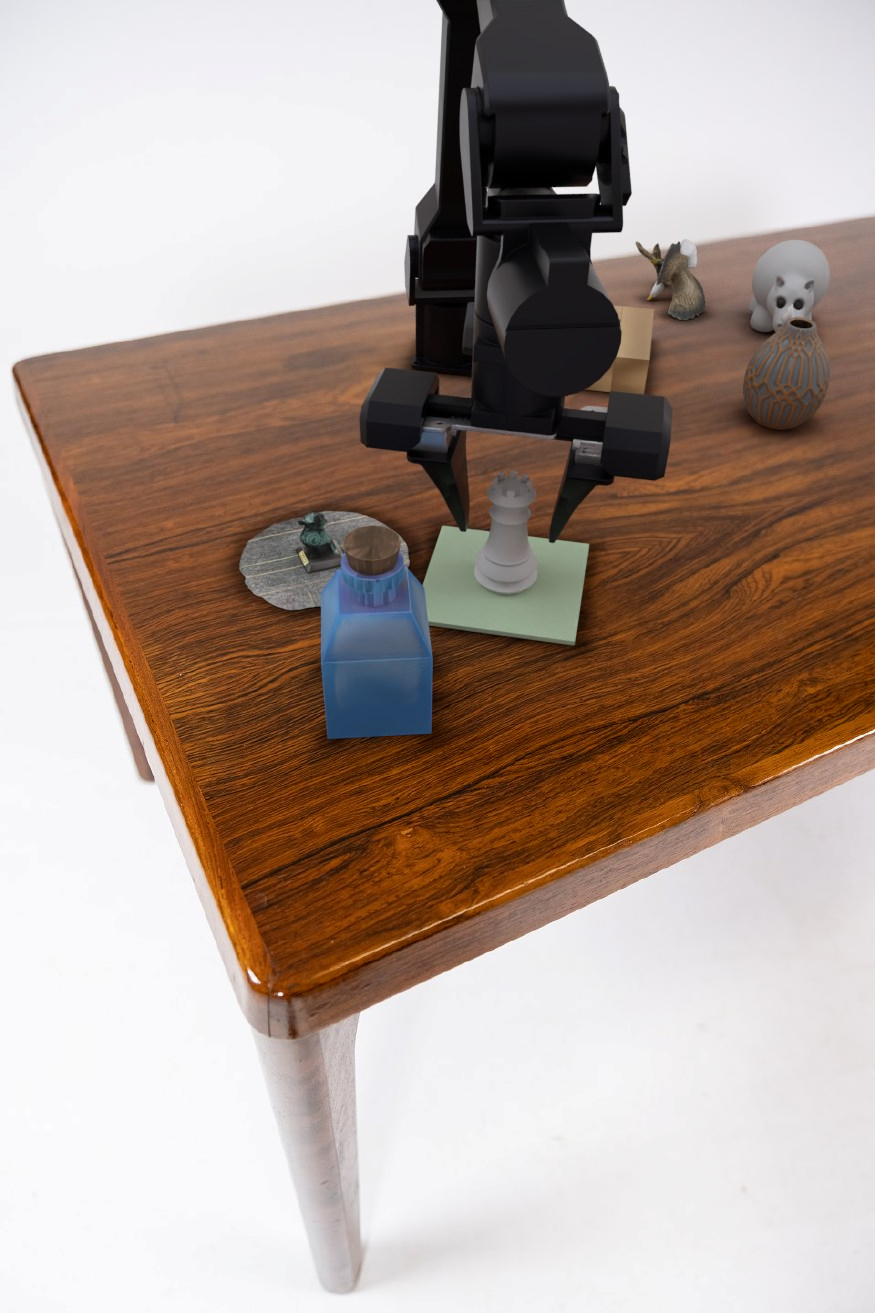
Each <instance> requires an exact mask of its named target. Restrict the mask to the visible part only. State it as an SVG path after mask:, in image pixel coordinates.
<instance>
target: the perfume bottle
mask: <svg viewBox="0 0 875 1313" xmlns="http://www.w3.org/2000/svg"><path fill="white" fill-rule="evenodd" d="M389 528H390V527H388V528H386V527H382V526H372V525H370V526H363V527H359V528H356V529H354V530H352V531H351V532H349V533H348V534H347V535H346V536H345V537H344V539H343V543H342V544H343V547H344V550H345V553H344V554H343V556H342V559H341V570H337V572H336V573H335V574H334V576H333V577H332V578H331V580H330V581H329V583H328V584H327V585H326V587H325V588H324V589H323V591H322V592H321V607H320V665H321V677H322V688H323V689H322V690H323V700H324V702H323V703H324V712H325V723H326V734H327V740H334V739H337V740H338V739H352V738H353V739H356V738H373V737H375V738H376V737H389V736H390V737H391V736H392V737H393V736H408V735H409V736H411V735H430V734H432V730H433V729H432V726H433V724H432V722H433V660H434V659H433V648H432V642H431V633H430V632H431V631H430V626H429V624H428V615H427V607H426V598H425V590H424V587H423V586H422V585H423V584H422V583H421V582H420V581H419V580H418V579H417V578H416V576H415V575H414V574H413V573H412V571H411V570H410V569H409V567H408V568H407V567H404V558H403V555H402V553H401V552H400V551H399V550H400V546H401V539H400V537H399V536H400V534H398V533H397V532H396V531H395V530H393V529H392V528H390V529H389ZM391 529H392V530H391Z"/></svg>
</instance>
